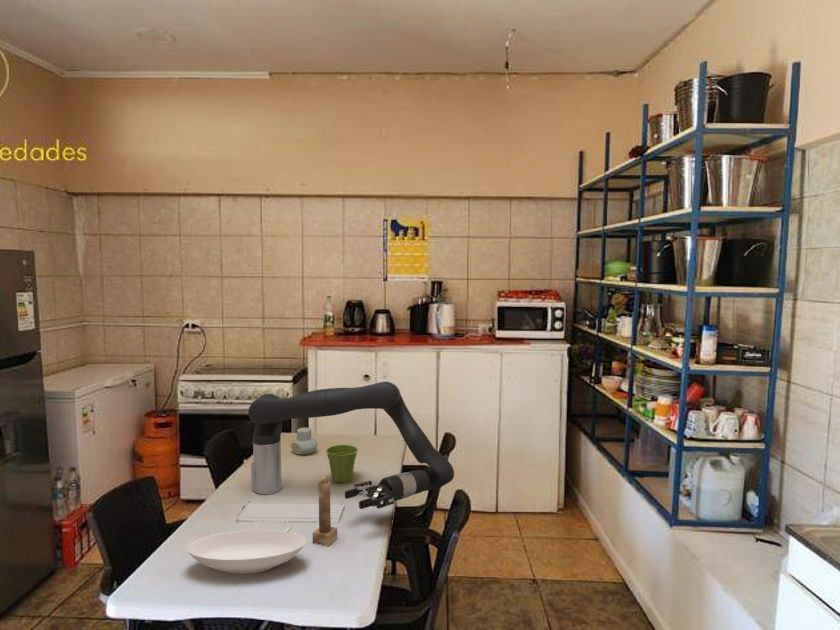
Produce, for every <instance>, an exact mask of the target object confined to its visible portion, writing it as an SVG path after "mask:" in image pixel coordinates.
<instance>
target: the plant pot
mask: <svg viewBox="0 0 840 630" xmlns="http://www.w3.org/2000/svg"><path fill="white" fill-rule="evenodd" d="M358 452H359V448H358V447H357V446H356V445H352V444H335V445H334V444H333V445H331V446H329V447H326V448H325V453H326V454H327V459H328V461H329V462H328V463H329V469H330V476H331V480H332V481H333V482H335V483H337V484H338V483H347V482H348V483H349V482H350V481H352V479H353V473H354V468H355V467H354V466H355V461H356V458H357V453H358Z"/></svg>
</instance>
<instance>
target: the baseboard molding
mask: <svg viewBox="0 0 840 630" xmlns="http://www.w3.org/2000/svg"><path fill="white" fill-rule="evenodd" d="M248 503H249V504H248ZM344 507H345V504H330V517H331V522H339V523H340V521H339V520H341V518H342V516H341V515H343V513H342V512H344V510H345V508H344ZM241 510H242V511H240V512H239V515H238V517H239V518H237V519H236V520H235V522H237V523H238V522H239V523H240V522H242V523H243V522H244V523H245V522H247V523H249V522H251V523H253V522H254V521H263V522H262V523H265V522H264V521H284V522H283V523H318V522H319V503H317V504H311V503H310V504H309V503H306V504H305V503H304V504H301V503H250V501H249V500H248V502H247V505H244V506H243V507H242V509H241ZM286 521H288V522H286ZM254 523H255V522H254Z"/></svg>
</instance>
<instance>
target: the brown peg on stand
mask: <svg viewBox="0 0 840 630" xmlns="http://www.w3.org/2000/svg"><path fill="white" fill-rule="evenodd" d="M317 485H318V505H319V523H318V527H317V528H316V529H315V530H314V531H313V532H312V544H315V543H317V544H316V545H319V544H322V545H321V546H324V545H326V547H330V545H331V544H333V543H334V542H335V541H334V540H335V539H336V538H337V539H338V527H334V526H331V524H332V523H331V517H330V505H331V482H330V480H328V477H327V476H322V477H321V478H320V480H319V481H318V482H317ZM337 539H336V540H337Z"/></svg>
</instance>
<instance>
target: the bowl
mask: <svg viewBox="0 0 840 630" xmlns="http://www.w3.org/2000/svg"><path fill="white" fill-rule="evenodd" d="M306 544H307V539H306V537H305V536H304V535H302V534H299V533H296V532H291V531H288V532H287V531H285V530H281V529H280V530H279V529H248V530H247V529H244V530H243V529H242V530H236V531H235V530H234V531H228V532H226V531H225V532H221V533H215V534H212V535H208V536H207V535H206V536H204V537H200V538H198V539H195V540H193V541H192V542H190V543H189V544H188V545H187V546H186V551H187V553H188V554H189V555H190V556H191V557H192V558H193V559H194V560H195V561H196V562H198V563H200V564H202V565H203V566H206V567H209V568H211V569H214V570H218V571H222V572H224V573H227V574H228V573H229V574H236V575H237V574H239V575H240V574H241V575H242V574H243V575H247V574H256V573H261V572H265V571H268V570H270V569H272V568H274V567H277V566H280V565H281V564H284V563H286V562H288V561H290V560H291V559H293V558H294V557H295V556H296V555H298V553H300V552H301V550H302V549H303V548H304V547H305V546H306Z"/></svg>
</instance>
